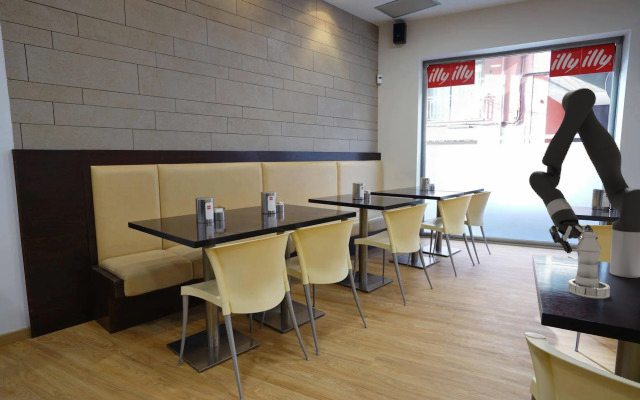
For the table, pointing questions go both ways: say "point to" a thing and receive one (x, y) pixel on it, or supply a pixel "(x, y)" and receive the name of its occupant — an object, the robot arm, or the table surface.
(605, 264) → the table surface
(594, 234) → the plastic bottle
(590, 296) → the ring holder
